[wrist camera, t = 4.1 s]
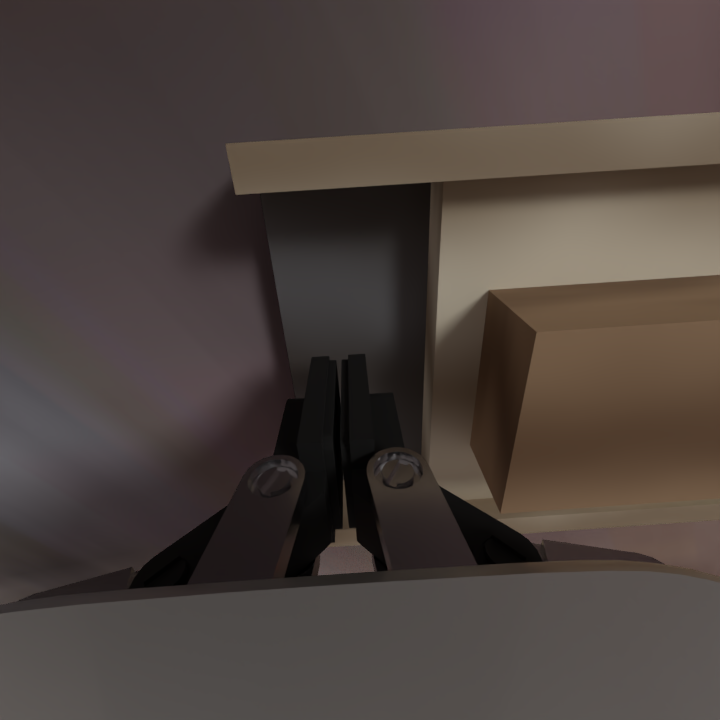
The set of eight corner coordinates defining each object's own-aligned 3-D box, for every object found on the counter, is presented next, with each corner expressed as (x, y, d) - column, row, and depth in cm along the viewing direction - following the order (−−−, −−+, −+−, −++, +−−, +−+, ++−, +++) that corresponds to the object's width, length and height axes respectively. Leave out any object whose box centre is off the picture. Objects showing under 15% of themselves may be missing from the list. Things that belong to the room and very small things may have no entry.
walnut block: (488, 289, 11) (536, 331, 8) (725, 274, 11) (851, 311, 8) (469, 445, 13) (500, 513, 11) (655, 432, 13) (731, 497, 11)
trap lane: (259, 149, 11) (225, 143, 8) (1211, 88, 11) (1550, 59, 8) (314, 480, 17) (307, 548, 14) (901, 440, 18) (1018, 499, 15)
